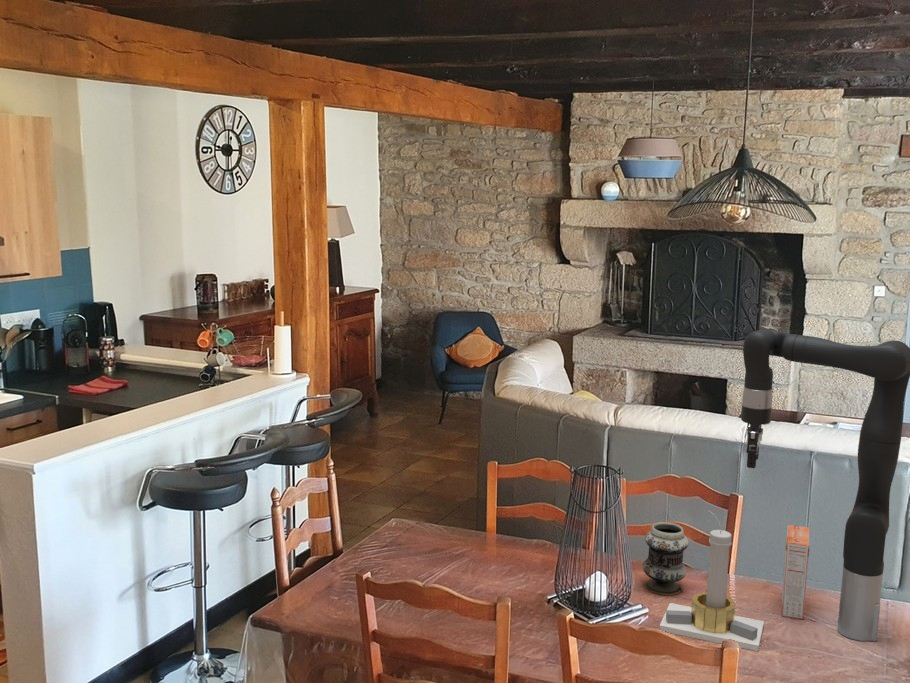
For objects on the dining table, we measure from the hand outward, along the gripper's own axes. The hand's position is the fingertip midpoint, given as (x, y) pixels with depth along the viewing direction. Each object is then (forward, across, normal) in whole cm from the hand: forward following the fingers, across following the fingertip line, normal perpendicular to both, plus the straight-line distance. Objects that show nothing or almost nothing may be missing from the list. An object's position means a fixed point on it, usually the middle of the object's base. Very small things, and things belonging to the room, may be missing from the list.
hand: (752, 463), depth 246 cm
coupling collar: (+37, -22, +6) cm, 43 cm away
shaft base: (+39, -22, +6) cm, 45 cm away
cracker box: (+39, 0, -13) cm, 41 cm away
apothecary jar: (+39, -2, +21) cm, 44 cm away
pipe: (+37, -22, +6) cm, 43 cm away
